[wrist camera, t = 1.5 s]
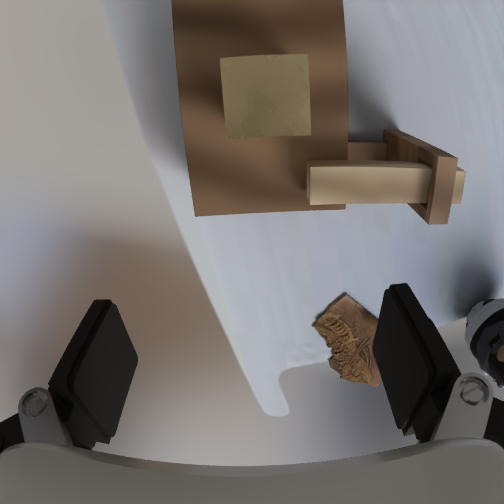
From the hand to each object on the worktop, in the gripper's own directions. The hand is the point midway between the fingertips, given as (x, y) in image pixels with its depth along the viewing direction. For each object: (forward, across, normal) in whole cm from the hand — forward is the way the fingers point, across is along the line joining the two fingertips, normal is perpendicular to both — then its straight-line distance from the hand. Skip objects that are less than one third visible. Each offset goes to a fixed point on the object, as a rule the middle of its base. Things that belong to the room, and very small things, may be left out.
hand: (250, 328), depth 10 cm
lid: (+19, -1, -7) cm, 20 cm away
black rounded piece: (+26, -37, +25) cm, 52 cm away
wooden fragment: (+26, -15, +31) cm, 43 cm away
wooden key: (+17, -11, 0) cm, 20 cm away
